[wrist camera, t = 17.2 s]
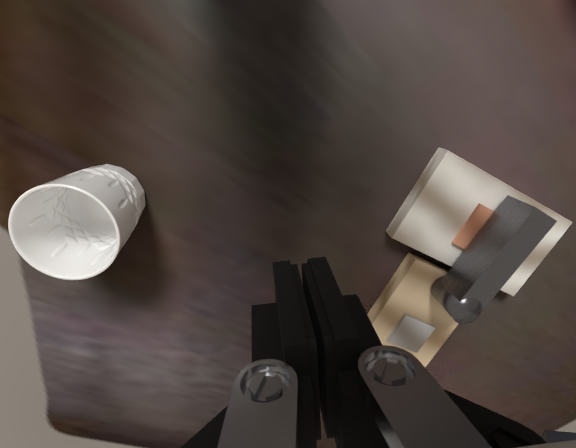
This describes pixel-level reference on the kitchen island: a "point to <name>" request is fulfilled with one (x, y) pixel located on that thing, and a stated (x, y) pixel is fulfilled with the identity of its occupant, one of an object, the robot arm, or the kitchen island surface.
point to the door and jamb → (443, 250)
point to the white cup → (77, 221)
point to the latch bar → (491, 259)
